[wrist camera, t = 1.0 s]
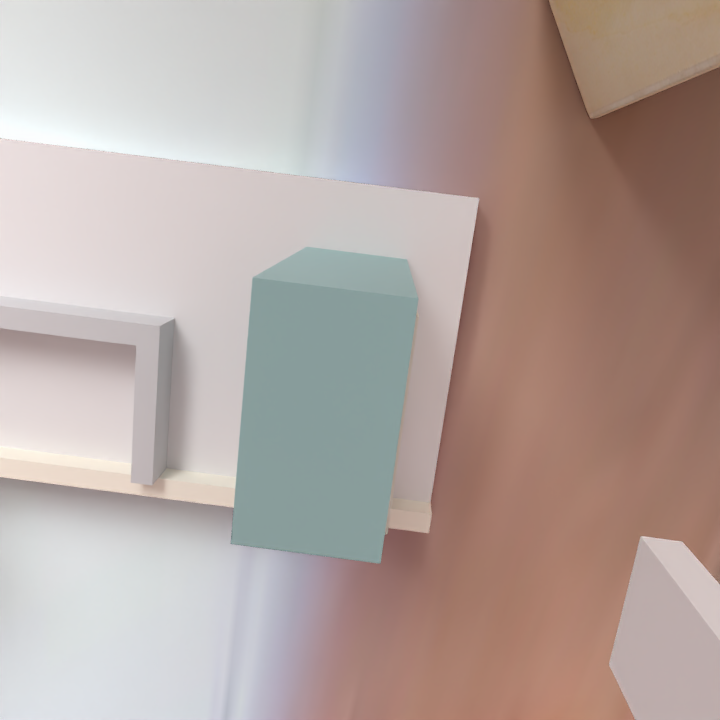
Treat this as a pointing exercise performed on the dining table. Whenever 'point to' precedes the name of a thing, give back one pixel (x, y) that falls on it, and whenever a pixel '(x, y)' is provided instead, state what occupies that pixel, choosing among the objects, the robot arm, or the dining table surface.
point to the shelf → (188, 313)
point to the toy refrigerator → (636, 46)
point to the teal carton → (324, 403)
